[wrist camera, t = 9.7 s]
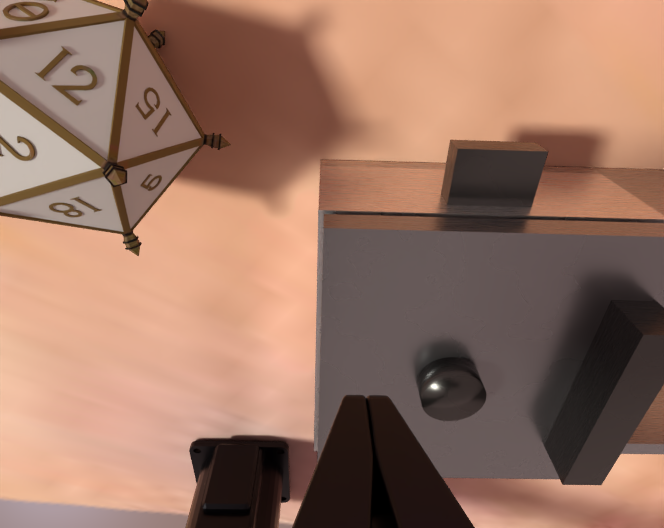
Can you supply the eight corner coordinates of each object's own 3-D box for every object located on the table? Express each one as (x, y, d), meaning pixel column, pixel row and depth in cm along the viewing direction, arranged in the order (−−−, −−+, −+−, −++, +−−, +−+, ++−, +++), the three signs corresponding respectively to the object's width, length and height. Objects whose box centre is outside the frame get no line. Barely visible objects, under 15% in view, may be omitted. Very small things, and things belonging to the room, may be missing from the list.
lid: (560, 459, 21) (589, 518, 19) (317, 456, 21) (316, 515, 19) (681, 223, 15) (750, 268, 12) (323, 214, 14) (322, 258, 12)
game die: (148, 118, 22) (-7, 280, 17) (4, -89, 15) (-309, 88, 10) (299, 133, 18) (151, 348, 13) (197, -138, 11) (-171, 110, 7)
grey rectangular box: (664, 401, 27) (729, 480, 23) (315, 396, 27) (313, 475, 22) (839, 129, 18) (1001, 172, 14) (321, 112, 18) (319, 150, 13)
